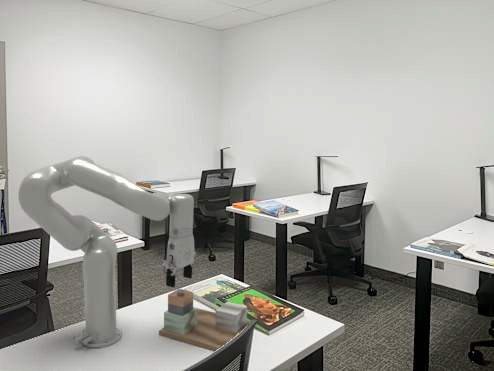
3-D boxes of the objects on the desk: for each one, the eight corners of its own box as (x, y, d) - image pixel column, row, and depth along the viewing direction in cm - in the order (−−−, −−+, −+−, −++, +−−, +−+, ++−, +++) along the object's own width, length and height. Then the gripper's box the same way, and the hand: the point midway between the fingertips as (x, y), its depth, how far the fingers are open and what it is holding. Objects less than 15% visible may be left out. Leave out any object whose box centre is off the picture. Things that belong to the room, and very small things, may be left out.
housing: (182, 315, 139) (183, 295, 138) (167, 311, 141) (168, 291, 140) (193, 309, 144) (193, 289, 143) (178, 305, 146) (178, 286, 146)
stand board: (221, 353, 130) (222, 330, 129) (158, 334, 141) (158, 313, 140) (251, 325, 149) (251, 305, 148) (193, 311, 160) (193, 292, 159)
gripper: (174, 239, 129) (173, 292, 132) (204, 228, 145) (202, 276, 147) (155, 235, 133) (153, 287, 135) (186, 225, 148) (184, 272, 150)
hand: (179, 281), depth 141 cm, fingers open, 9 cm apart
